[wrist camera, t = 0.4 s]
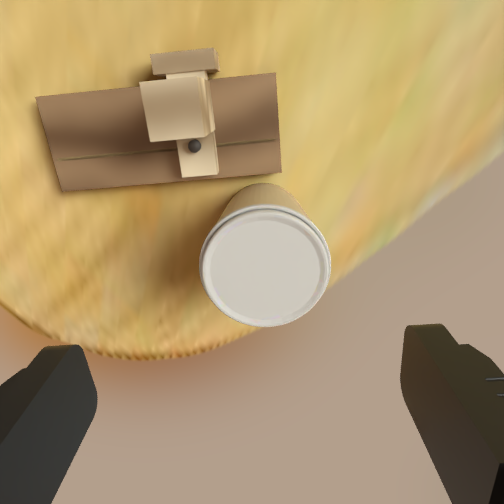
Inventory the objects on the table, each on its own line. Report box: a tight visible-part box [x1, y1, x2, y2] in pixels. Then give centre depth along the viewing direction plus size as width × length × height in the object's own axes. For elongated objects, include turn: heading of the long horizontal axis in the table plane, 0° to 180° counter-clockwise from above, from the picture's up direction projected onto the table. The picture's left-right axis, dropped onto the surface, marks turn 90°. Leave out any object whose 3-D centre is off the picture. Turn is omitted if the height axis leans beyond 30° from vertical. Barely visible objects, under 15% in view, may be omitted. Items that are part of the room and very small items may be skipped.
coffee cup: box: [199, 183, 331, 327], centre depth 31 cm, size 9×9×12 cm
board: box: [35, 73, 282, 192], centre depth 33 cm, size 8×20×2 cm, turn 95°
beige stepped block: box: [139, 48, 220, 178], centre depth 29 cm, size 9×5×10 cm, turn 5°
